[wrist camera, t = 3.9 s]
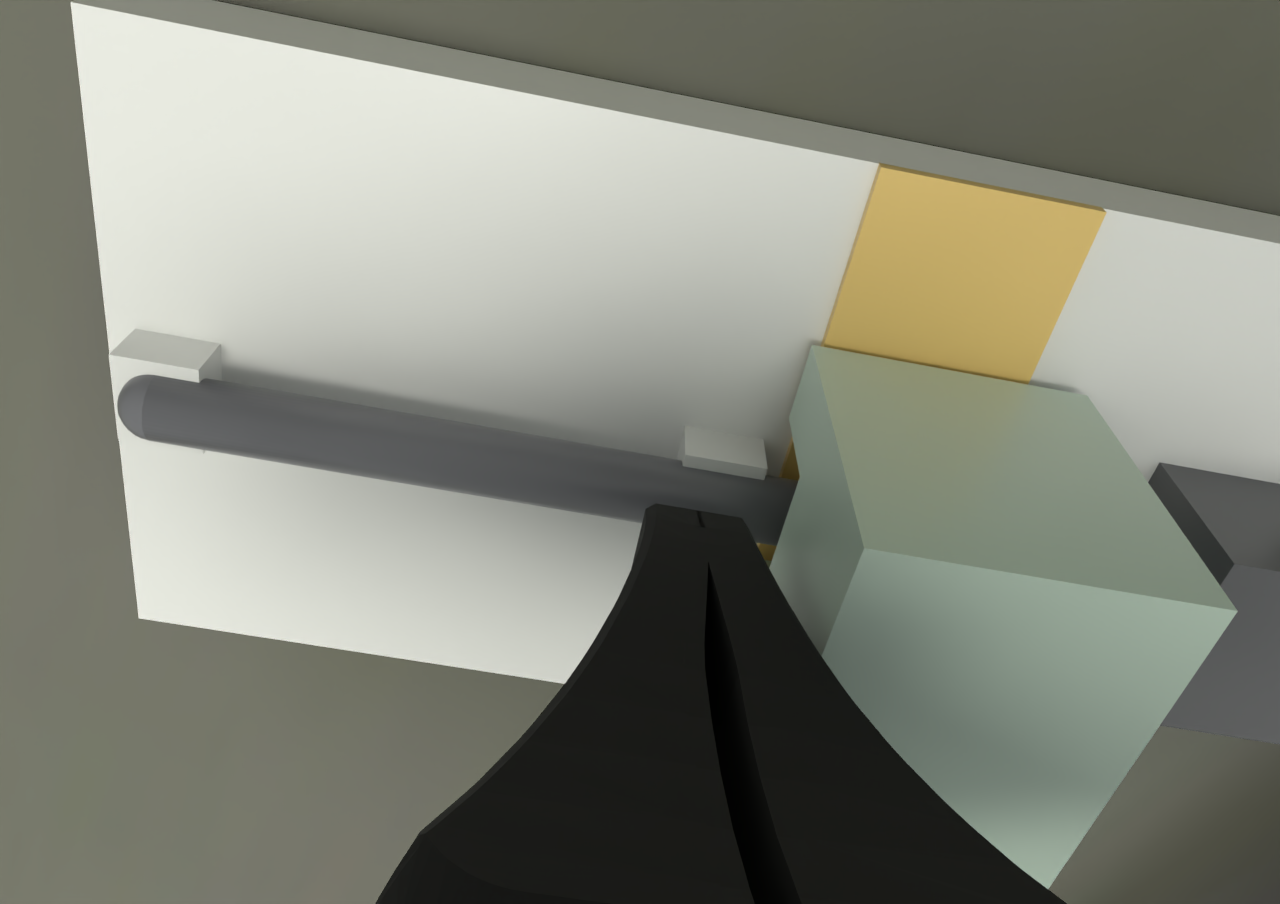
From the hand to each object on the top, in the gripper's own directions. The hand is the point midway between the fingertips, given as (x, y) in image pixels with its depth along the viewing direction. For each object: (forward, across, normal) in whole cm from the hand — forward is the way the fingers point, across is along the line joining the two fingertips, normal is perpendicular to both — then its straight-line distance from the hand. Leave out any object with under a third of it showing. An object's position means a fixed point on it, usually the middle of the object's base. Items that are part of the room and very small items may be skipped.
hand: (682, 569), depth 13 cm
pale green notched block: (+2, -3, 0) cm, 4 cm away
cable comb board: (+4, 0, 0) cm, 4 cm away
